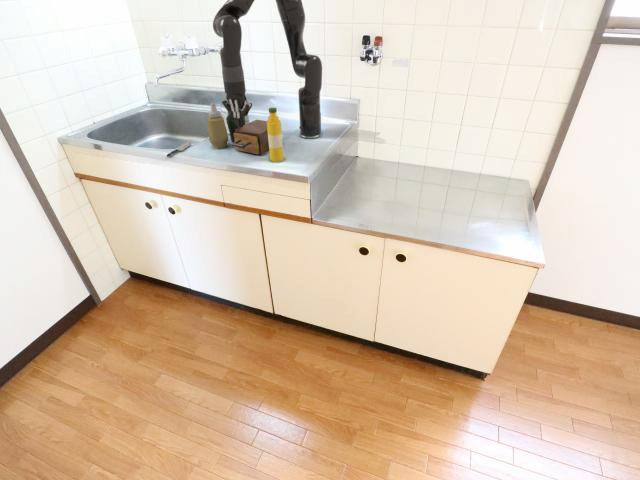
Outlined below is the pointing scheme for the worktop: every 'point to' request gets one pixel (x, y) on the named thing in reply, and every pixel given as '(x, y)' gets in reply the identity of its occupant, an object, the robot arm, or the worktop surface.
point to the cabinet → (257, 134)
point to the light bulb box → (226, 113)
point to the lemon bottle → (274, 136)
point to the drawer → (246, 143)
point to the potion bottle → (232, 125)
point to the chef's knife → (180, 148)
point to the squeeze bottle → (217, 128)
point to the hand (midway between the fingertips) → (240, 127)
